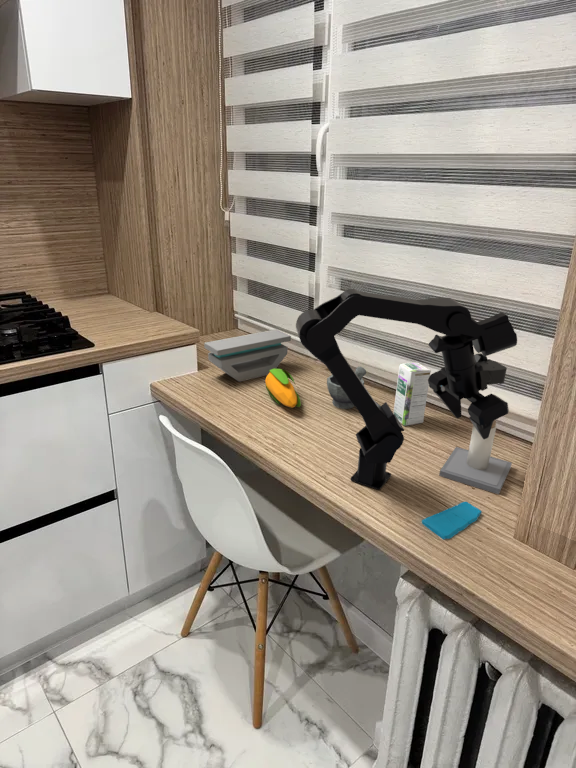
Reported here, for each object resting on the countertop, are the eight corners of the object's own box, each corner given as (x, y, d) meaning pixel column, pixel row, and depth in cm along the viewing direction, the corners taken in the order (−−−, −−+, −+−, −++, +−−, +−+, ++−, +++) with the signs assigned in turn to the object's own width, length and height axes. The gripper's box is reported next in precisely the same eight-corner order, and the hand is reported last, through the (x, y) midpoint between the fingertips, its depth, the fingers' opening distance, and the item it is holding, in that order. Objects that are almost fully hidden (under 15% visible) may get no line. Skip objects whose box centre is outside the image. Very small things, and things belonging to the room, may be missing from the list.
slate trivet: (498, 494, 105) (499, 489, 104) (439, 475, 111) (440, 470, 110) (510, 467, 114) (511, 462, 114) (455, 451, 120) (456, 446, 120)
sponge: (491, 517, 97) (467, 498, 101) (444, 538, 91) (421, 517, 96) (489, 523, 98) (465, 504, 102) (442, 545, 92) (419, 523, 96)
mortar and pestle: (318, 402, 142) (320, 360, 138) (342, 393, 148) (345, 353, 143) (348, 417, 135) (352, 373, 130) (373, 407, 140) (377, 365, 136)
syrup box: (391, 416, 136) (397, 363, 130) (411, 413, 138) (418, 361, 132) (404, 426, 131) (410, 372, 125) (424, 423, 133) (432, 369, 127)
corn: (285, 360, 150) (309, 387, 132) (286, 384, 153) (310, 414, 135) (259, 364, 148) (280, 392, 130) (261, 388, 151) (282, 419, 133)
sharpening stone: (275, 361, 170) (276, 329, 165) (289, 369, 164) (290, 335, 160) (205, 377, 156) (204, 342, 152) (218, 386, 150) (217, 350, 146)
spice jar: (483, 472, 110) (492, 428, 106) (463, 464, 112) (471, 421, 108) (491, 463, 113) (500, 420, 109) (471, 456, 116) (478, 413, 111)
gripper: (529, 363, 94) (537, 432, 101) (467, 331, 110) (478, 392, 117) (475, 388, 92) (487, 457, 100) (420, 352, 108) (434, 413, 116)
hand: (471, 427), depth 108 cm, fingers open, 9 cm apart
